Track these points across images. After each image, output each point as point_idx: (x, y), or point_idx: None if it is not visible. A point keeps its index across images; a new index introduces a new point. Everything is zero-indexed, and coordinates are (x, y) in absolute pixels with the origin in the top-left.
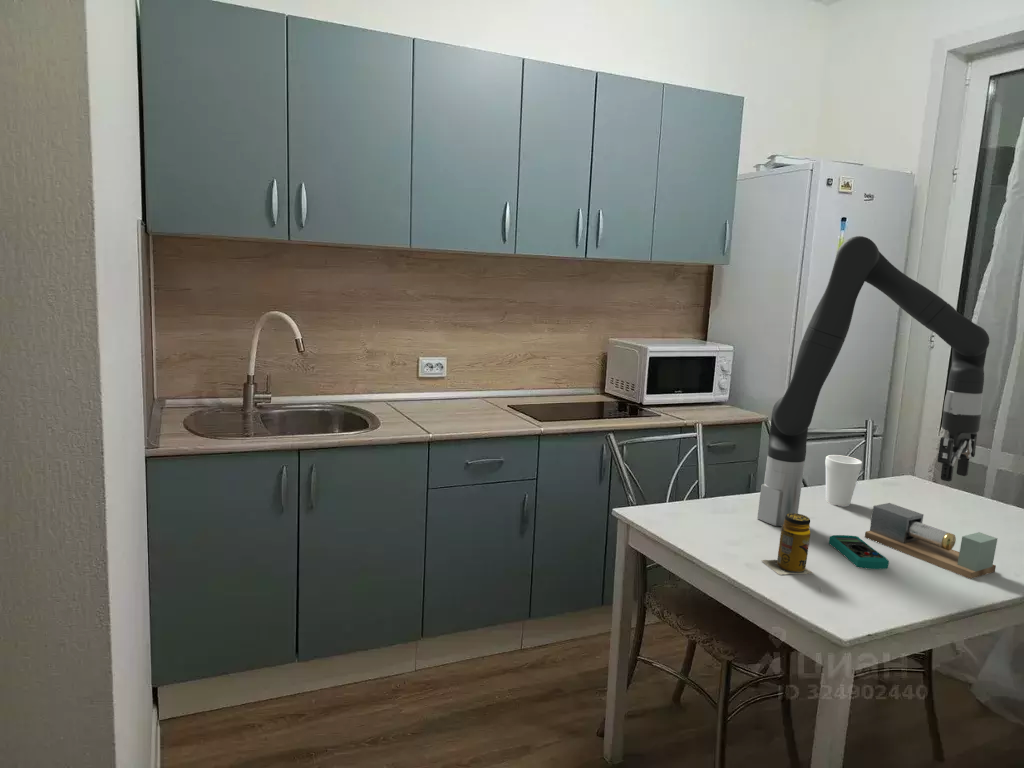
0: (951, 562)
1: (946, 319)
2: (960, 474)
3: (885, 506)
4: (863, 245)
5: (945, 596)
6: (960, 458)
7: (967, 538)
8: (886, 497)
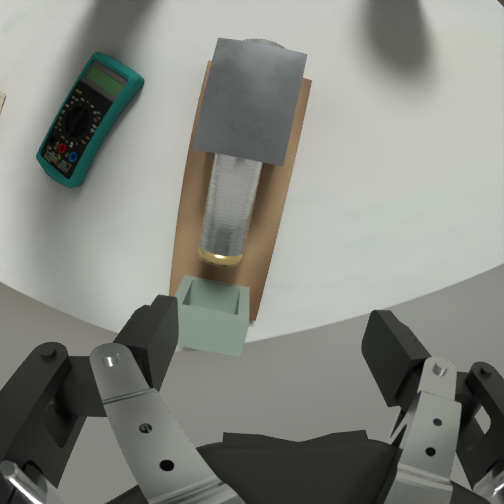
0: (185, 263)
1: None
2: (368, 326)
3: (250, 59)
4: None
5: (70, 289)
6: (414, 375)
7: None
8: (500, 56)
